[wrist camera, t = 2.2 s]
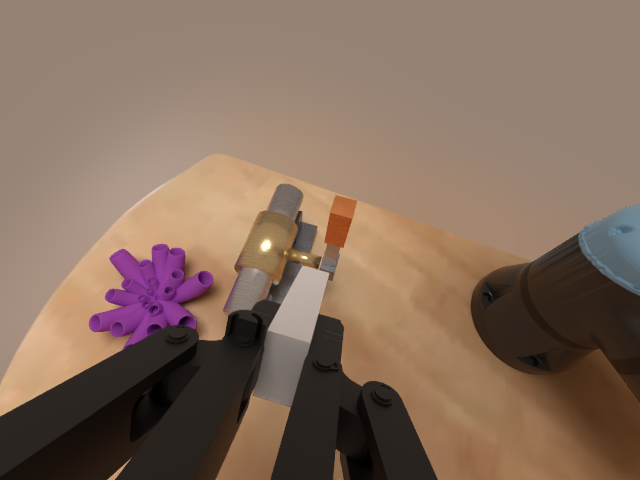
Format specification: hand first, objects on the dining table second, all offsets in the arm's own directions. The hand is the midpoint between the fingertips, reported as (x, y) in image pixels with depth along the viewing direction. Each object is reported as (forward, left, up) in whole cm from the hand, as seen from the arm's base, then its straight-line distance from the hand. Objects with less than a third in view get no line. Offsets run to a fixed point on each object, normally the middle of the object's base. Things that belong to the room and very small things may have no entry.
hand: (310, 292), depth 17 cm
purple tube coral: (+14, +14, -27) cm, 34 cm away
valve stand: (+12, -3, -27) cm, 30 cm away
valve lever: (+8, -7, -20) cm, 23 cm away
